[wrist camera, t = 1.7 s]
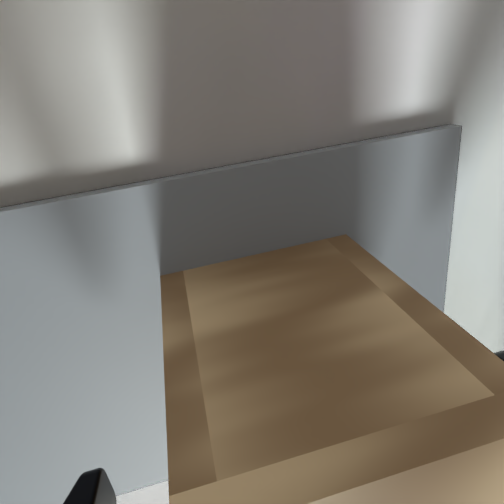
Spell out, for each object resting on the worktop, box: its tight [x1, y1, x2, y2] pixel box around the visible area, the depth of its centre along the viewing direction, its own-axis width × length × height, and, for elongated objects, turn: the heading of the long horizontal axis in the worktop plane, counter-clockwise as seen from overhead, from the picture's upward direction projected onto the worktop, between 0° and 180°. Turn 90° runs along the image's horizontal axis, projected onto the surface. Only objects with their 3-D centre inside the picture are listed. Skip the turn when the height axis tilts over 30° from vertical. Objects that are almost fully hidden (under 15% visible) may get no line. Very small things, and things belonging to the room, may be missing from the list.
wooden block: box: [160, 234, 504, 504], centre depth 9 cm, size 5×5×7 cm
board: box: [0, 124, 462, 504], centre depth 11 cm, size 24×10×1 cm, turn 97°
